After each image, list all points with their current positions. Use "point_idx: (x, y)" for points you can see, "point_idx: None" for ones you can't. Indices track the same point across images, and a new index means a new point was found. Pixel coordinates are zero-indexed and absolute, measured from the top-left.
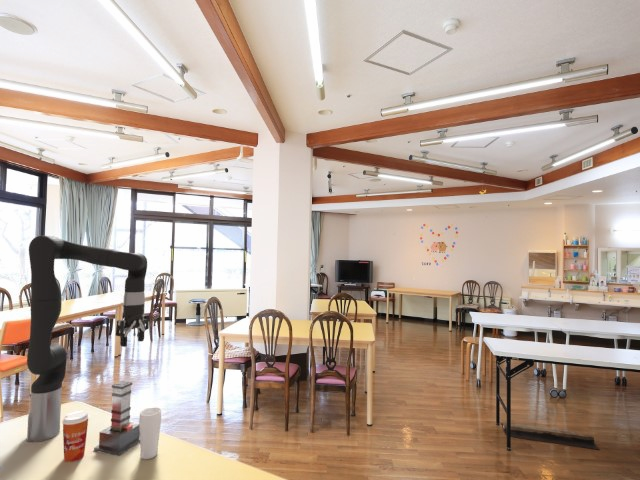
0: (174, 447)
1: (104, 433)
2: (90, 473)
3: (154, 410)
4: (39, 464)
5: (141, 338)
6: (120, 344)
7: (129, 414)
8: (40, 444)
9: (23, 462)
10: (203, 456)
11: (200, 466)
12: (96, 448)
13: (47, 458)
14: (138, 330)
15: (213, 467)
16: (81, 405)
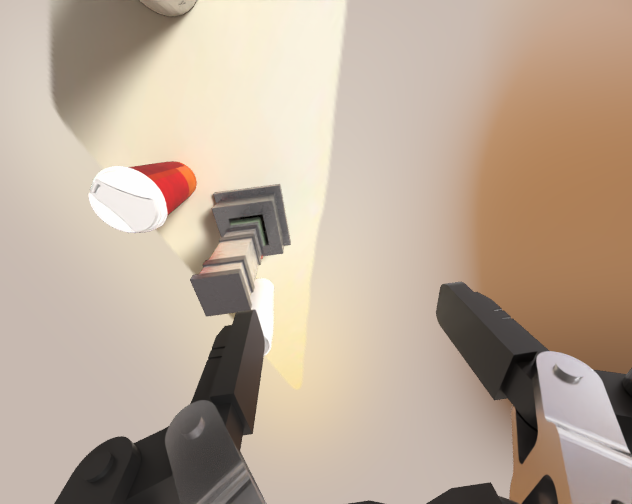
0: (298, 300)
1: (216, 222)
2: (178, 253)
3: (267, 333)
4: (117, 138)
5: (451, 331)
6: (218, 335)
7: (261, 254)
8: (138, 25)
9: (89, 90)
10: (299, 342)
11: (280, 352)
12: (215, 199)
13: (136, 128)
14: (537, 373)
15: (287, 363)
16: None
